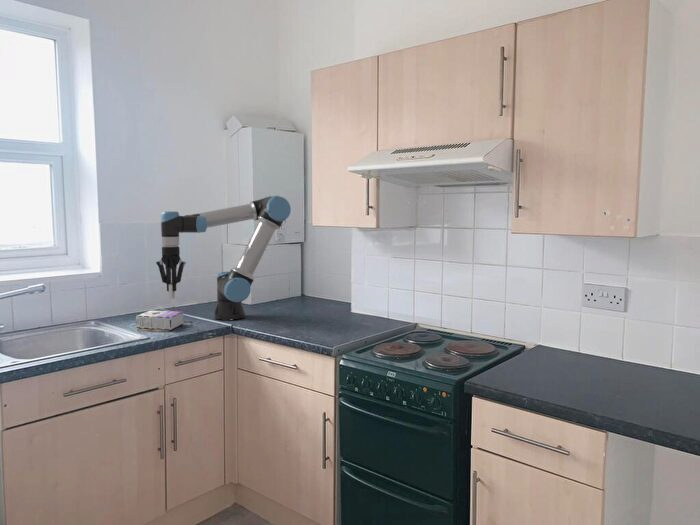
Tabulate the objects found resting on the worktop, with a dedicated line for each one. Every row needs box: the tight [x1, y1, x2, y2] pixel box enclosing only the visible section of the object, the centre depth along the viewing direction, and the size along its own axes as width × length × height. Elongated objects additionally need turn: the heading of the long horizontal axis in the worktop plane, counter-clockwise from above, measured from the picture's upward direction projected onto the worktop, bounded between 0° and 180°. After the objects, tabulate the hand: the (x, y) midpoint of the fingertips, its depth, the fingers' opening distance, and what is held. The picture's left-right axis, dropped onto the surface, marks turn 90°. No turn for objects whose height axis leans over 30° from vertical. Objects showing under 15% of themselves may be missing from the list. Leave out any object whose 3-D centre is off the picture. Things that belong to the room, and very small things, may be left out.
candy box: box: [135, 310, 184, 331], centre depth 252 cm, size 14×6×16 cm
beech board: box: [136, 328, 171, 333], centre depth 252 cm, size 14×16×1 cm
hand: (171, 298), depth 250 cm, fingers closed
